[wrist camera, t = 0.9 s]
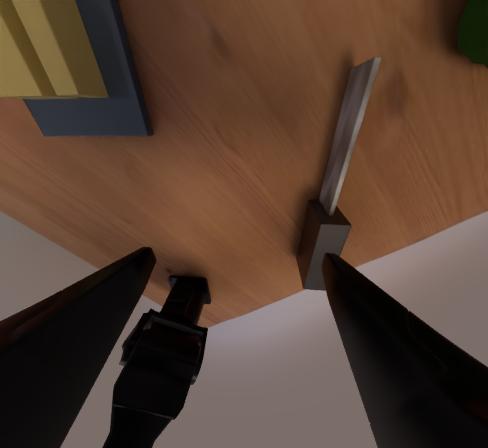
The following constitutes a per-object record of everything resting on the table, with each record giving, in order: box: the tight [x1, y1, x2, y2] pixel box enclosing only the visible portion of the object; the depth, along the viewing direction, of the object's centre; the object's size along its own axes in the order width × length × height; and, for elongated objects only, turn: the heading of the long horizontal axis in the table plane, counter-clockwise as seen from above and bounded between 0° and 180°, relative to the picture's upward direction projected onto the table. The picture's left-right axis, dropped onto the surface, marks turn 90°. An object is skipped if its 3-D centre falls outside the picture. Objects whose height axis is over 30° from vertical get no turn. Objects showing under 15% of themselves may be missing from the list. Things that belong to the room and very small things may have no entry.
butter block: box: [0, 0, 78, 99], centre depth 13 cm, size 6×4×3 cm
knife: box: [297, 57, 381, 291], centre depth 17 cm, size 20×3×5 cm, turn 1°
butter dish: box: [23, 0, 153, 136], centre depth 14 cm, size 12×11×1 cm
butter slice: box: [12, 0, 109, 98], centre depth 12 cm, size 6×2×3 cm, turn 1°
